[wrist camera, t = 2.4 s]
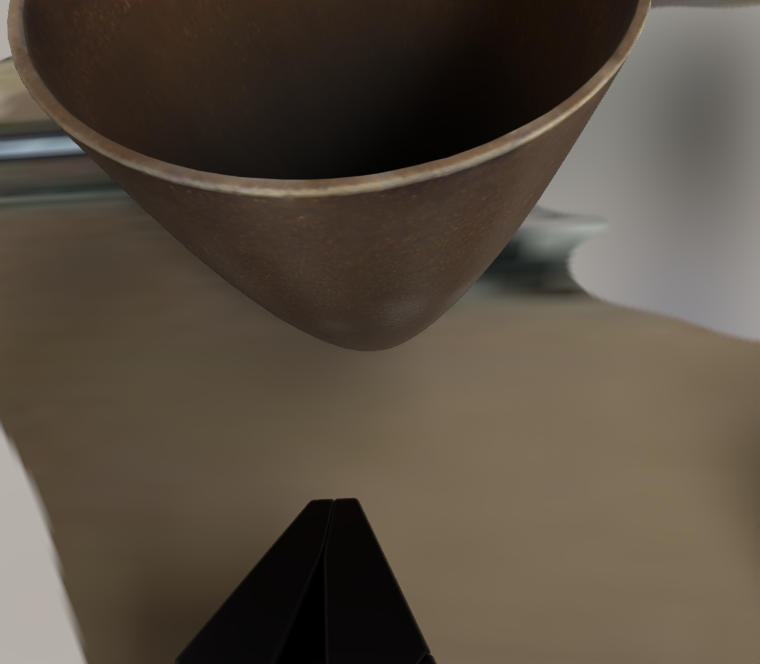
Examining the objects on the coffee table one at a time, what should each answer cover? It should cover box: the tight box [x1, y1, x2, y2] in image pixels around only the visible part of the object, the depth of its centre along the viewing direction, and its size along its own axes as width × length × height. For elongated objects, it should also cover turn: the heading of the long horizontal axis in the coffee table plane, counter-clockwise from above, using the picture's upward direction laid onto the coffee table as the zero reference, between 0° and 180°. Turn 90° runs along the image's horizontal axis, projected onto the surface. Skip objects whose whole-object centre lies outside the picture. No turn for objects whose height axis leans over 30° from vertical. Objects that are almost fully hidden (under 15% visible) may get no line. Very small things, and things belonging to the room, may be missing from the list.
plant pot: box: [7, 0, 651, 351], centre depth 19 cm, size 15×15×16 cm
